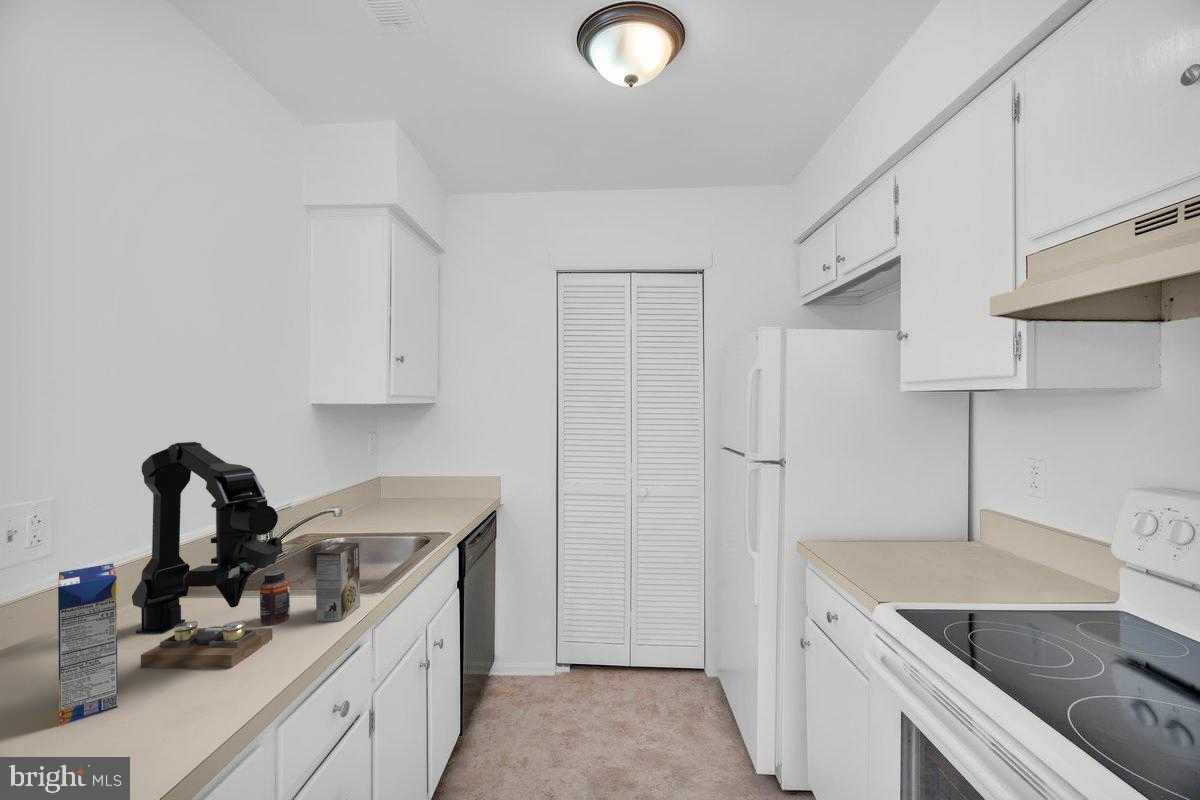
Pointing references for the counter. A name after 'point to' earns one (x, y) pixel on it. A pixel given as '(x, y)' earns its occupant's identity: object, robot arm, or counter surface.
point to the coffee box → (337, 581)
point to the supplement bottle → (274, 598)
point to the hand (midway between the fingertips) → (234, 606)
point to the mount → (205, 651)
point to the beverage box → (87, 642)
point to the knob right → (233, 631)
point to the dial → (208, 635)
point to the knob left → (186, 631)
